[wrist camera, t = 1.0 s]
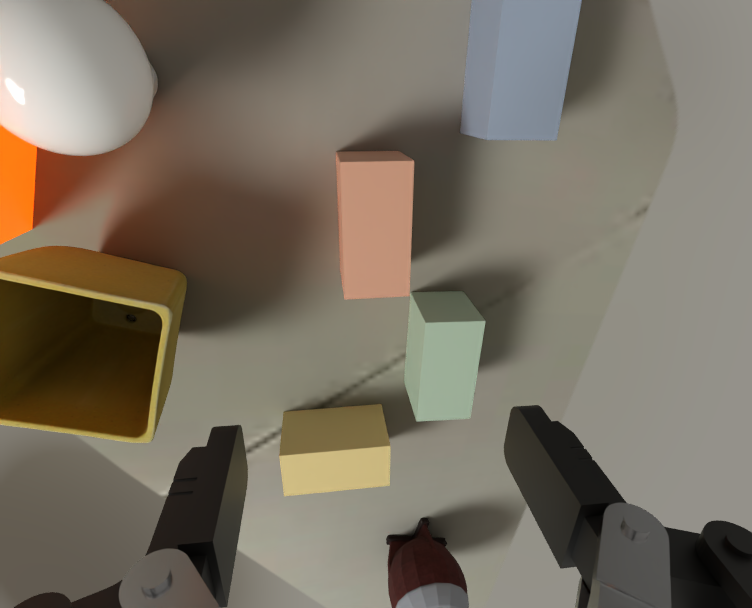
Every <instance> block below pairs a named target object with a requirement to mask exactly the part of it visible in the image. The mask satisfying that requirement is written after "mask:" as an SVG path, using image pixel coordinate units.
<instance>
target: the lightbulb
mask: <svg viewBox="0 0 752 608" xmlns="http://www.w3.org/2000/svg"><path fill="white" fill-rule="evenodd" d="M157 89H158V79H157V75H156V72H155V70H154V68H153V66H152V65H151V64H150V62H149V60H148V57H147V55H146V53H145V50H144V48H143V46H142V44H141V42H140V41H139V39H138V37H137V36H136V34H135V33H134V31H133V30H132V29H131V27H130V26H129V25H128V23H127V22H126V21H125V20H124V19H123V18H122V17H121V15H120V14H119V13H118V12H117V11H116V10H114V9H113V8H112V7H111V6H110V5H109V4H108V3H106V2H105V1H104V0H0V125H1V126H2V127H4V128H5V129H6V130H8V131H9V132H11V133H12V134H13V135H15V136H17V137H18V138H20V139H22V140H24V141H26V142H28V143H30V144H32V145H34V146H36V147H39V148H41V149H44V150H47V151H51V152H55V153H59V154H64V155H73V156H90V155H98V154H103V153H107V152H110V151H113V150H115V149H117V148H119V147H121V146H123V145H125V144H126V143H127V142H129V141H130V140H131V139H133V138H134V137H135V136H136V135H137V134H138V133H139V131H140V130H141V129H142V127H143V126H144V124H145V123H146V121H147V119H148V117H149V114H150V111H151V108H152V103H153V98H154V96H155V95H156V92H157Z"/></svg>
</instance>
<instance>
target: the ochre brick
mask: <svg viewBox="0 0 752 608" xmlns="http://www.w3.org/2000/svg"><path fill="white" fill-rule="evenodd" d="M279 457H280V466H281V474H282V482H283V490H284V496H291V495H301V494H311V493H321V492H331V491H341V490H351V489H361V488H371V487H381V486H390V442H389V437H388V433H387V428H386V423H385V419H384V414H383V409H382V405H381V404H375V405H363V406H350V407H337V408H325V409H312V410H299V411H287V412H284V414H283V424H282V434H281V444H280V454H279Z"/></svg>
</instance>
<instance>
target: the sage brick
mask: <svg viewBox="0 0 752 608" xmlns="http://www.w3.org/2000/svg"><path fill="white" fill-rule="evenodd" d="M485 322H486V321H485V320H484V318H483V317H482V316H481V314H480V313H479V312H478V310H477V309H476V308H475V306H474V305H473V304H472V302H471V301H470V300H469V298H468V297H467V296H466V294H465V293H464V292H463V291H443V292H411V294H410V308H409V322H408V335H407V349H406V363H405V376H404V383H405V386H406V390H407V393H408V396H409V399H410V402H411V406H412V409H413V412H414V415H415V419H416V422H418V421H435V420H452V419H469V418H470V417H471V410H472V404H473V398H474V391H475V385H476V379H477V372H478V366H479V360H480V353H481V347H482V341H483V334H484V328H485Z"/></svg>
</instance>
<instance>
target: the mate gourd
mask: <svg viewBox="0 0 752 608" xmlns="http://www.w3.org/2000/svg"><path fill="white" fill-rule="evenodd" d="M428 525H429V520H428V519H427V518H421V519H420V521H419V524H418V526H417V529H416V531H415V533H414V535H413V536H396V535H388V536H387V539H386V540H387V542H386V544H387V545H390V548H389V556H388V588H389V596H390V601H391V605H392V608H469V602H468V595H467V585H466V581H465V578H464V575H463V572H462V570H461V568H460V566H459V564H458V563H457V561H456V560H455V558H454V557H453V556H452V555H451V554H450V552H449V551H448V550H447V549H446V548H445V546H446V544H447V542H446V540H445V538H433V537H432V536H431V534H430V532H429V530H428Z"/></svg>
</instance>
